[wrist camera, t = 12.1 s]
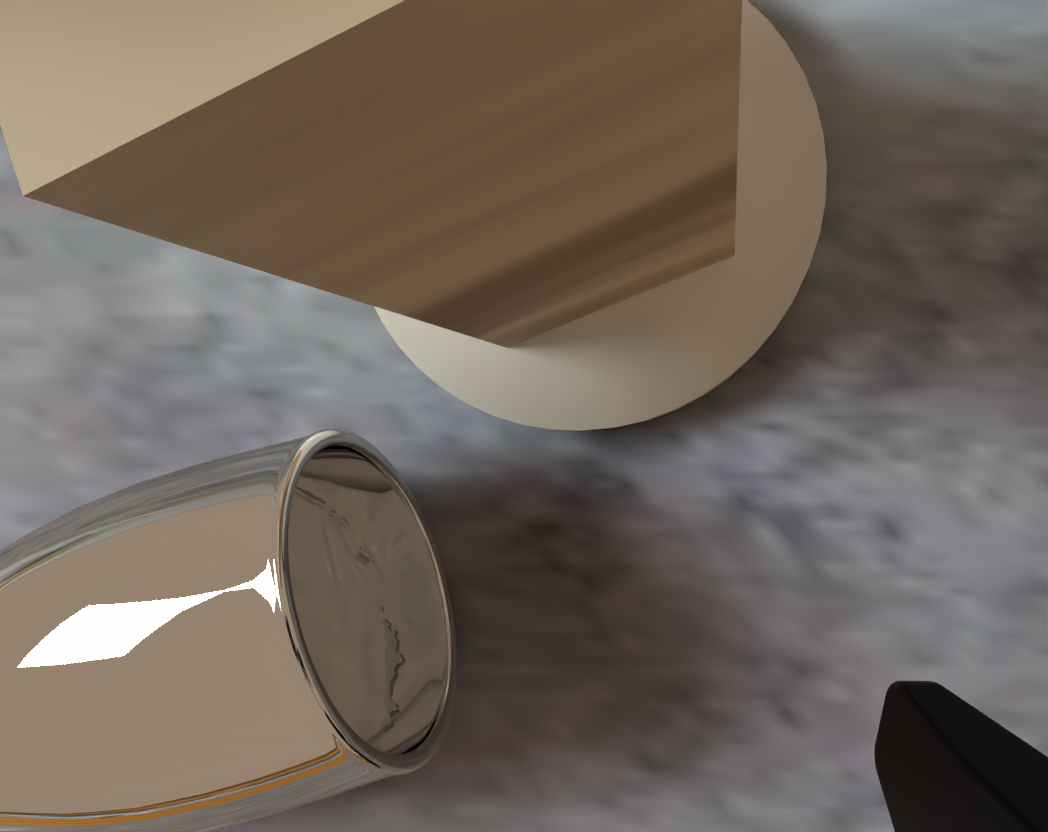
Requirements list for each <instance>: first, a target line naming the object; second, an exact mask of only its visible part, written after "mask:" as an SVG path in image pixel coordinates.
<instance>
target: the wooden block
mask: <svg viewBox="0 0 1048 832" xmlns="http://www.w3.org/2000/svg"><path fill="white" fill-rule="evenodd" d="M741 24H742V0H0V125H1V128H2V132H3V135H4V138H5V141H6V144H7V147H8V150H9V153H10V156H11V160H12V163H13V166H14V169H15V172H16V175H17V178H18V181H19V185H20V188H21V191H22V194H23V196H25V197H28V198H32V199H35V200H38V201H41V202H44V203H48V204H51V205H54V206H57V207H60V208H63V209H67V210H70V211H73V212H76V213H79V214H83V215H86V216H89V217H92V218H95V219H98V220H102V221H105V222H108V223H111V224H114V225H117V226H121V227H124V228H127V229H130V230H133V231H137V232H140V233H143V234H146V235H149V236H152V237H156V238H159V239H162V240H165V241H168V242H172V243H175V244H178V245H181V246H184V247H187V248H191V249H194V250H197V251H200V252H203V253H207V254H210V255H213V256H216V257H219V258H222V259H226V260H229V261H232V262H235V263H238V264H242V265H245V266H248V267H251V268H254V269H257V270H261V271H264V272H267V273H270V274H273V275H277V276H280V277H283V278H286V279H289V280H292V281H296V282H299V283H302V284H305V285H308V286H312V287H315V288H318V289H321V290H324V291H327V292H331V293H334V294H337V295H340V296H343V297H347V298H350V299H353V300H356V301H359V302H362V303H366V304H369V305H372V306H375V307H378V308H381V309H385V310H388V311H391V312H394V313H397V314H401V315H404V316H407V317H410V318H413V319H416V320H420V321H423V322H426V323H429V324H432V325H436V326H439V327H442V328H445V329H448V330H451V331H455V332H458V333H461V334H464V335H467V336H471V337H474V338H477V339H480V340H483V341H486V342H490V343H493V344H496V345H499V346H502V347H506V348H508V347H510V346H512V345H515V344H517V343H520V342H522V341H525V340H527V339H530V338H532V337H535V336H537V335H540V334H542V333H545V332H547V331H550V330H552V329H554V328H557V327H559V326H562V325H564V324H567V323H569V322H572V321H574V320H577V319H579V318H582V317H584V316H587V315H589V314H591V313H594V312H596V311H599V310H601V309H604V308H606V307H609V306H611V305H614V304H616V303H619V302H621V301H624V300H626V299H629V298H631V297H633V296H636V295H638V294H641V293H643V292H646V291H648V290H651V289H653V288H656V287H658V286H661V285H663V284H666V283H668V282H671V281H673V280H675V279H678V278H680V277H683V276H685V275H688V274H690V273H693V272H695V271H698V270H700V269H703V268H705V267H708V266H710V265H712V264H715V263H717V262H720V261H722V260H725V259H727V258H730V257H732V256H734V255H735V222H736V189H737V156H738V123H739V90H740V57H741Z"/></svg>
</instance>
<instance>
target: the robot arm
mask: <svg viewBox="0 0 1048 832" xmlns="http://www.w3.org/2000/svg"><path fill="white" fill-rule="evenodd" d="M875 765H876V770H877V774H878V777H879V781H880V784H881V787H882V791H883V794H884V797H885V801H886V804H887V807H888V811H889V814H890V817H891V821H892V824H893V827H894V830H895V832H1048V757H1047V756H1045V755H1044V754H1042V753H1041V752H1039V751H1038V750H1036V749H1035V748H1033V747H1032V746H1031V745H1029V744H1028V743H1026V742H1025V741H1023V740H1022V739H1020V738H1019V737H1017V736H1016V735H1014V734H1013V733H1011V732H1010V731H1008V730H1007V729H1005V728H1004V727H1002V726H1001V725H999V724H998V723H997V722H995V721H994V720H992V719H991V718H989V717H988V716H986V715H985V714H983V713H982V712H980V711H979V710H977V709H976V708H974V707H973V706H971V705H970V704H968V703H967V702H965V701H964V700H962V699H961V698H960V697H958V696H957V695H955V694H954V693H952V692H951V691H949V690H948V689H946V688H945V687H943V686H942V685H940V684H938V683H936V682H932V681H896V682H894V683H892V684H891V685H890V687H889V688H888V690H887V693H886V696H885V701H884V706H883V710H882V715H881V720H880V724H879V729H878V734H877V738H876V743H875Z"/></svg>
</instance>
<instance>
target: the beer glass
mask: <svg viewBox="0 0 1048 832" xmlns="http://www.w3.org/2000/svg"><path fill="white" fill-rule="evenodd" d="M456 682H457V643H456V632H455V623H454V616H453V610H452V604H451V599H450V594H449V589H448V585H447V581H446V577H445V573H444V569H443V566H442V563H441V559H440V556H439V553H438V550H437V547H436V544H435V542H434V539H433V536H432V534H431V531H430V529H429V527H428V524H427V522H426V520H425V518H424V515H423V513H422V511H421V509H420V507H419V505H418V503H417V502H416V500H415V498H414V496H413V494H412V493H411V491H410V489H409V488H408V486H407V485H406V483H405V481H404V480H403V479H402V477H401V476H400V474H399V473H398V472H397V470H396V469H395V468H394V466H393V465H392V464H391V463H390V462H389V460H388V459H387V458H386V457H385V456H384V455H383V454H382V453H381V452H380V451H379V450H378V449H377V448H376V447H374V446H373V445H372V444H371V443H369V442H368V441H367V440H365V439H364V438H362V437H360V436H358V435H356V434H354V433H352V432H349V431H346V430H342V429H324V430H320V431H317V432H315V433H313V434H311V435H308V436H305V437H302V438H298V439H295V440H291V441H287V442H283V443H279V444H275V445H271V446H267V447H263V448H259V449H254V450H250V451H246V452H242V453H238V454H235V455H231V456H227V457H223V458H220V459H216V460H212V461H208V462H205V463H201V464H197V465H194V466H190V467H187V468H184V469H181V470H178V471H175V472H171V473H168V474H165V475H162V476H159V477H156V478H153V479H149V480H146V481H143V482H140V483H137V484H135V485H132V486H130V487H127V488H125V489H122V490H120V491H117V492H115V493H112V494H110V495H107V496H105V497H102V498H100V499H97V500H95V501H92V502H90V503H87V504H85V505H82V506H80V507H78V508H76V509H74V510H72V511H70V512H68V513H66V514H64V515H63V516H61V517H59V518H57V519H55V520H53V521H51V522H49V523H47V524H45V525H43V526H42V527H40V528H38V529H36V530H34V531H32V532H30V533H28V534H26V535H24V536H23V537H21V538H19V539H18V540H16V541H14V542H13V543H11V544H9V545H8V546H6V547H4V548H3V549H1V550H0V832H211V831H216V830H220V829H224V828H227V827H231V826H235V825H239V824H242V823H246V822H250V821H254V820H257V819H261V818H265V817H269V816H272V815H276V814H279V813H282V812H285V811H288V810H291V809H295V808H298V807H301V806H304V805H307V804H310V803H313V802H316V801H319V800H323V799H326V798H329V797H331V796H334V795H337V794H340V793H343V792H346V791H349V790H351V789H354V788H357V787H360V786H363V785H366V784H369V783H372V782H375V781H378V780H381V779H384V778H388V777H391V776H395V775H403V774H408V773H411V772H413V771H416V770H418V769H419V768H421V767H422V766H424V765H425V764H426V763H427V762H428V761H429V760H430V759H431V758H432V757H433V755H434V754H435V753H436V751H437V750H438V748H439V747H440V745H441V743H442V741H443V739H444V737H445V735H446V732H447V729H448V726H449V723H450V720H451V716H452V712H453V706H454V700H455V693H456Z"/></svg>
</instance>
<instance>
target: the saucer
mask: <svg viewBox="0 0 1048 832" xmlns="http://www.w3.org/2000/svg"><path fill="white" fill-rule="evenodd" d="M826 180H827V163H826V153H825V143H824V134H823V130H822V126H821V121H820V117H819V113H818V109H817V105H816V102H815V99H814V97H813V94H812V92H811V89H810V87H809V84H808V82H807V79H806V77H805V74H804V72H803V70H802V68H801V67H800V65H799V63H798V61H797V60H796V58H795V56H794V55H793V53H792V51H791V49H790V48H789V46H788V44H787V43H786V42H785V40H784V39H783V38H782V37H781V35H780V34H779V33H778V32H777V30H776V29H775V28H774V27H773V25H772V24H771V23H770V22H769V20H768V19H767V18H766V17H765V16H764V15H763V14H762V13H761V12H759V11H758V10H757V9H756V8H755V7H754V6H753V5H752V4H751V3H750V2H749V1H748V0H742V24H741V57H740V90H739V123H738V156H737V189H736V222H735V255H734V256H732V257H730V258H727V259H725V260H722V261H720V262H717V263H715V264H712V265H710V266H708V267H705V268H703V269H700V270H698V271H695V272H693V273H690V274H688V275H685V276H683V277H680V278H678V279H675V280H673V281H671V282H668V283H666V284H663V285H661V286H658V287H656V288H653V289H651V290H648V291H646V292H643V293H641V294H638V295H636V296H633V297H631V298H629V299H626V300H624V301H621V302H619V303H616V304H614V305H611V306H609V307H606V308H604V309H601V310H599V311H596V312H594V313H591V314H589V315H587V316H584V317H582V318H579V319H577V320H574V321H572V322H569V323H567V324H564V325H562V326H559V327H557V328H554V329H552V330H550V331H547V332H545V333H542V334H540V335H537V336H535V337H532V338H530V339H527V340H525V341H522V342H520V343H517V344H515V345H512V346H510V347H508V348H506V347H502V346H499V345H496V344H493V343H490V342H486V341H483V340H480V339H477V338H474V337H471V336H467V335H464V334H461V333H458V332H455V331H451V330H448V329H445V328H442V327H439V326H436V325H432V324H429V323H426V322H423V321H420V320H416V319H413V318H410V317H407V316H404V315H401V314H397V313H394V312H391V311H388V310H385V309H381V308H378V307H375V306H374V307H375V309H376V311H377V313H378V315H379V317H380V319H381V321H382V323H383V324H384V325H385V327H386V328H387V330H388V331H389V333H390V334H391V336H392V337H393V339H394V340H395V342H396V343H397V345H398V346H399V347H400V348H401V349H402V351H403V352H404V353H405V354H406V355H407V356H408V357H409V358H410V360H411V361H412V362H413V363H414V364H415V365H416V366H417V367H418V368H419V369H420V370H421V371H422V372H423V373H425V374H426V375H427V376H428V377H429V378H430V379H432V380H433V381H434V382H435V383H436V384H437V385H439V386H440V387H441V388H443V389H444V390H446V391H448V392H449V393H451V394H452V395H454V396H455V397H457V398H458V399H460V400H461V401H463V402H465V403H467V404H469V405H471V406H473V407H475V408H477V409H479V410H481V411H483V412H486V413H488V414H490V415H492V416H496V417H499V418H502V419H505V420H508V421H511V422H514V423H518V424H522V425H527V426H533V427H539V428H544V429H552V430H576V431H583V430H594V429H605V428H616V427H622V426H626V425H631V424H635V423H640V422H644V421H648V420H651V419H654V418H657V417H659V416H662V415H665V414H667V413H670V412H673V411H676V410H678V409H680V408H682V407H684V406H686V405H687V404H689V403H691V402H693V401H695V400H697V399H699V398H701V397H703V396H704V395H706V394H707V393H709V392H710V391H712V390H713V389H714V388H716V387H717V386H719V385H720V384H722V383H723V382H724V381H726V380H727V379H729V378H730V377H731V376H732V375H733V374H734V373H736V372H737V371H738V370H739V369H740V368H741V367H742V366H743V365H744V364H745V363H746V362H748V361H749V360H750V359H751V358H752V357H753V356H754V355H755V354H756V352H757V351H758V350H759V349H760V348H761V346H762V345H763V344H764V343H765V342H766V341H767V339H768V338H769V337H770V336H771V335H772V333H773V332H774V331H775V329H776V328H777V326H778V325H779V323H780V321H781V320H782V318H783V317H784V315H785V314H786V312H787V311H788V309H789V307H790V306H791V304H792V302H793V300H794V299H795V297H796V294H797V292H798V290H799V288H800V286H801V284H802V282H803V280H804V277H805V275H806V273H807V271H808V269H809V267H810V264H811V261H812V257H813V254H814V251H815V248H816V245H817V242H818V239H819V235H820V231H821V225H822V219H823V214H824V208H825V202H826Z"/></svg>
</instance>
